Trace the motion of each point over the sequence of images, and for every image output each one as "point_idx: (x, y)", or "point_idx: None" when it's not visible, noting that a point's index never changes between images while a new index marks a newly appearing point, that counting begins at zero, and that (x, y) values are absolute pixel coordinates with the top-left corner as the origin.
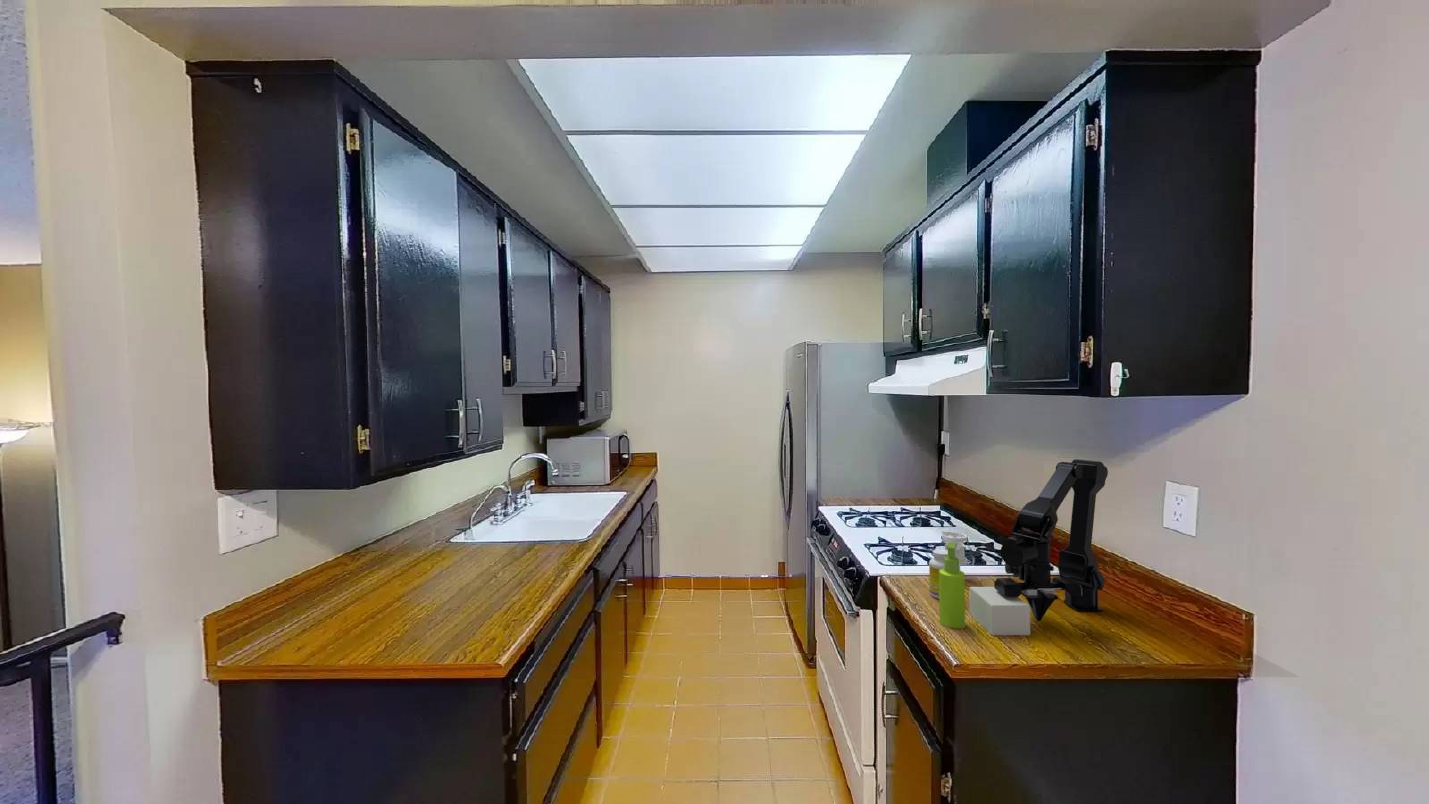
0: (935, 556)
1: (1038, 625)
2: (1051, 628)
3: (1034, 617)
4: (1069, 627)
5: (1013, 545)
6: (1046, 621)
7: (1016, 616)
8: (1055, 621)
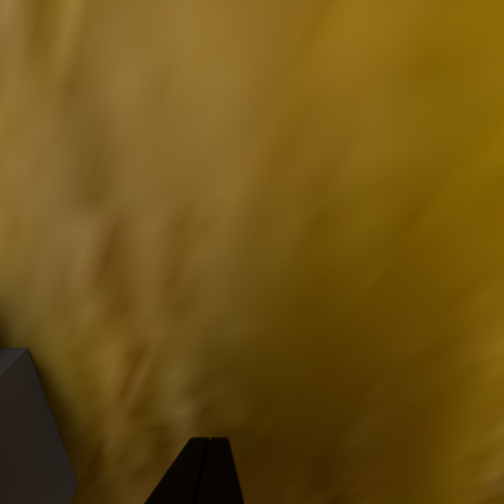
0: None
1: None
2: (292, 491)
3: (179, 456)
4: (474, 477)
5: None
6: (336, 376)
7: None
8: (437, 375)
